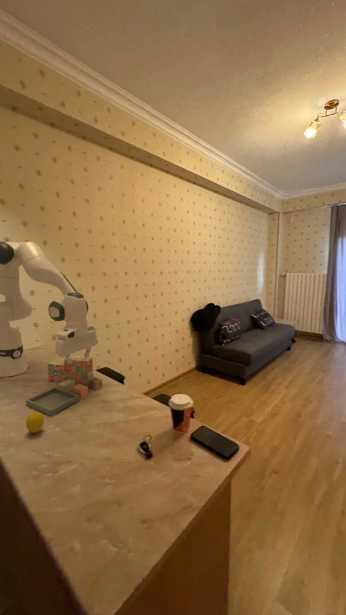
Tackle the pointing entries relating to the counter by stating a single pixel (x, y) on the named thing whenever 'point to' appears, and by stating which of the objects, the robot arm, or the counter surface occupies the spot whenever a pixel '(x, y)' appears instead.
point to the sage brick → (66, 385)
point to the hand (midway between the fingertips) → (78, 360)
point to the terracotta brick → (80, 390)
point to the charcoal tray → (52, 401)
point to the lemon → (35, 422)
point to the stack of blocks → (71, 370)
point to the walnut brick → (94, 383)
